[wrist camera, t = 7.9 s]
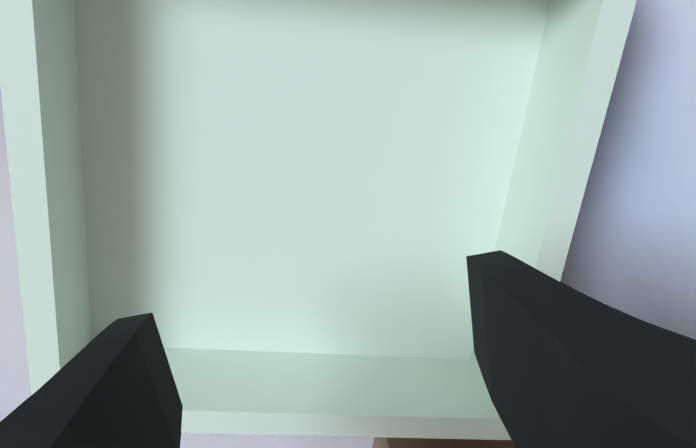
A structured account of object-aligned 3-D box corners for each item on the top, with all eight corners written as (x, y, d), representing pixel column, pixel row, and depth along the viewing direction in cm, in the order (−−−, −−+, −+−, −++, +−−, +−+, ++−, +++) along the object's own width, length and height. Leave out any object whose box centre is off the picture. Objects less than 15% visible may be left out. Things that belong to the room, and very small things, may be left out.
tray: (583, -57, 18) (652, -56, 14) (483, 368, 23) (516, 440, 20) (40, -127, 16) (-23, -144, 13) (72, 353, 21) (34, 429, 18)
